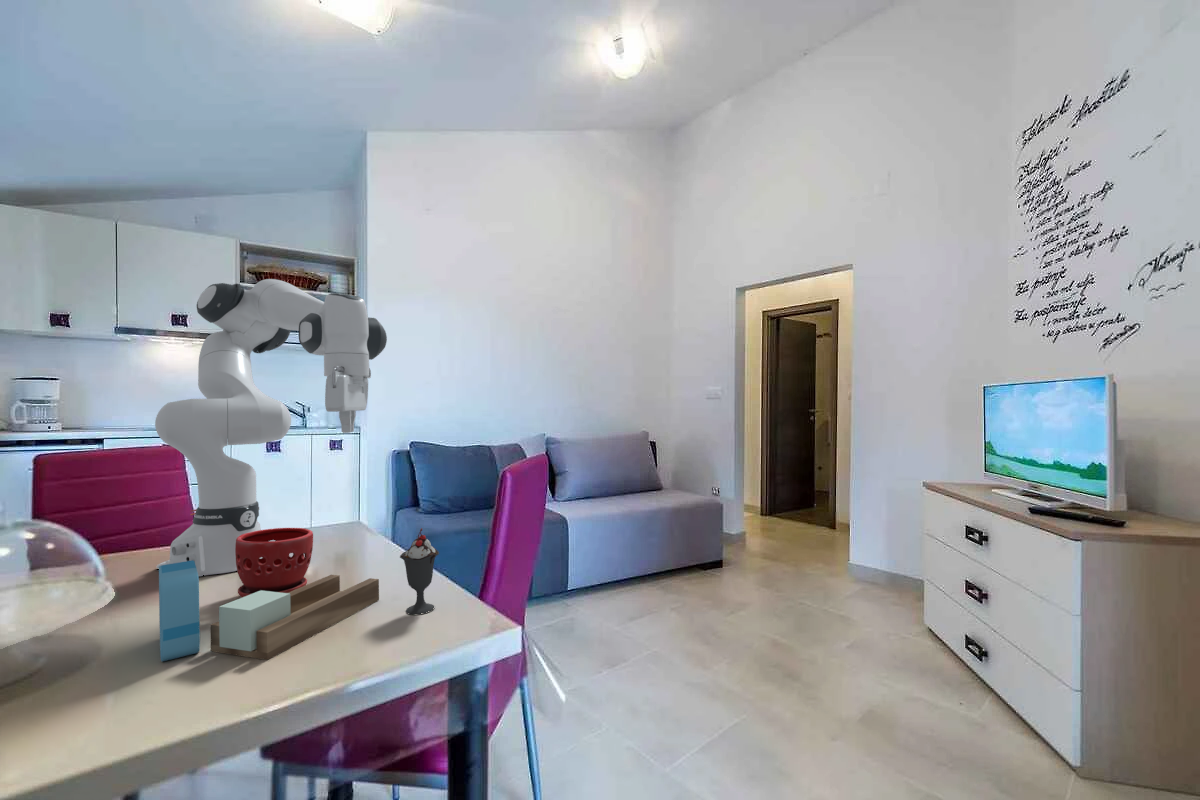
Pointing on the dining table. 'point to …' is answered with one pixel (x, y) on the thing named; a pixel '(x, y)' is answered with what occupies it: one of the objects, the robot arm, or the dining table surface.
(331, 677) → the dining table surface
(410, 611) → the sundae
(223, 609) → the block
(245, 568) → the plant pot
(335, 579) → the chute
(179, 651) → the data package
